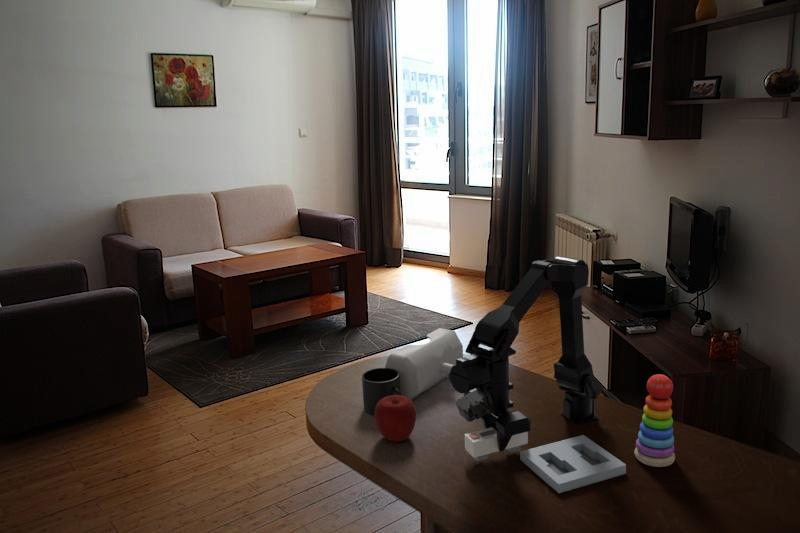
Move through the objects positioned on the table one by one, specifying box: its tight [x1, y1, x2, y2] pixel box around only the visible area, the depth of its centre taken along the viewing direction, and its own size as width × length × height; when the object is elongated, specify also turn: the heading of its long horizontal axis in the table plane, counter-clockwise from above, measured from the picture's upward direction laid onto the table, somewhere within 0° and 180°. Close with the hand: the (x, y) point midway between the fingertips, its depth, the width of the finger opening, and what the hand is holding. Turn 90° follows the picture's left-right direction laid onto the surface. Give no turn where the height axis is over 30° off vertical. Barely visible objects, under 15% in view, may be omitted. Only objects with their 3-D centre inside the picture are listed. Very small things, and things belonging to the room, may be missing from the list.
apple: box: [374, 395, 417, 443], centre depth 155 cm, size 10×10×10 cm
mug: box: [361, 367, 401, 416], centre depth 169 cm, size 9×12×9 cm
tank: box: [384, 327, 464, 401], centre depth 182 cm, size 25×16×12 cm, turn 143°
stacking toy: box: [633, 373, 676, 468], centre depth 139 cm, size 8×8×19 cm
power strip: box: [464, 427, 529, 462], centre depth 144 cm, size 13×4×5 cm, turn 112°
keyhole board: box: [519, 434, 627, 494], centre depth 140 cm, size 16×14×2 cm
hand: (496, 446), depth 144 cm, fingers closed on power strip, 4 cm apart
